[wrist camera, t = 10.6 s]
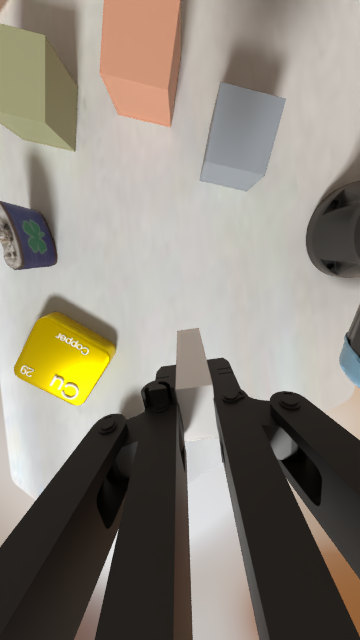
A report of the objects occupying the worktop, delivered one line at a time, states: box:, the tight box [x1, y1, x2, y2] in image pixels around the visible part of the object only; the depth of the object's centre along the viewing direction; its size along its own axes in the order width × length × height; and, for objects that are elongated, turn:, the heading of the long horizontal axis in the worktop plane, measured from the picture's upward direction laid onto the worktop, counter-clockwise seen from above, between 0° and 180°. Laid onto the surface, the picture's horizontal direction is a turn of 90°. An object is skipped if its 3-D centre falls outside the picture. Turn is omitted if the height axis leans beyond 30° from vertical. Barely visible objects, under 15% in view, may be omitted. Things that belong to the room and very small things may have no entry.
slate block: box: [200, 82, 286, 191], centre depth 30 cm, size 8×8×8 cm
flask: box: [0, 201, 57, 270], centre depth 32 cm, size 9×3×11 cm, turn 8°
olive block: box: [0, 24, 78, 152], centre depth 28 cm, size 8×8×8 cm
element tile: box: [14, 312, 116, 405], centre depth 43 cm, size 15×15×5 cm
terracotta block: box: [100, 0, 181, 127], centre depth 27 cm, size 8×8×8 cm
